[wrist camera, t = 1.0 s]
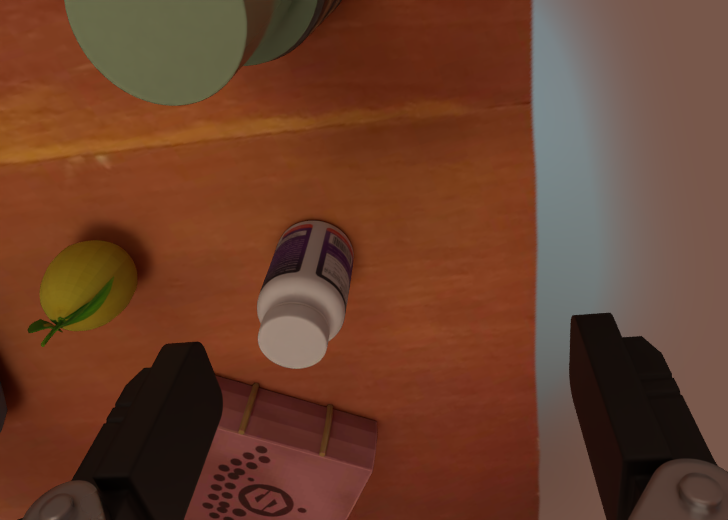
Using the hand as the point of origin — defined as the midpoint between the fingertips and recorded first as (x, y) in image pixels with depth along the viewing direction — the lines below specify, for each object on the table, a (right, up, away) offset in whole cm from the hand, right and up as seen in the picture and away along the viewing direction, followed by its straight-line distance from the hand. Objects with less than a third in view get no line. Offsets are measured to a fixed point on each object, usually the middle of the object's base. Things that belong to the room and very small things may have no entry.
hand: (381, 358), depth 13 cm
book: (-8, -15, +41) cm, 44 cm away
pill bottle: (-4, +3, +29) cm, 30 cm away
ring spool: (-5, +13, +10) cm, 18 cm away
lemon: (-18, +3, +31) cm, 36 cm away
